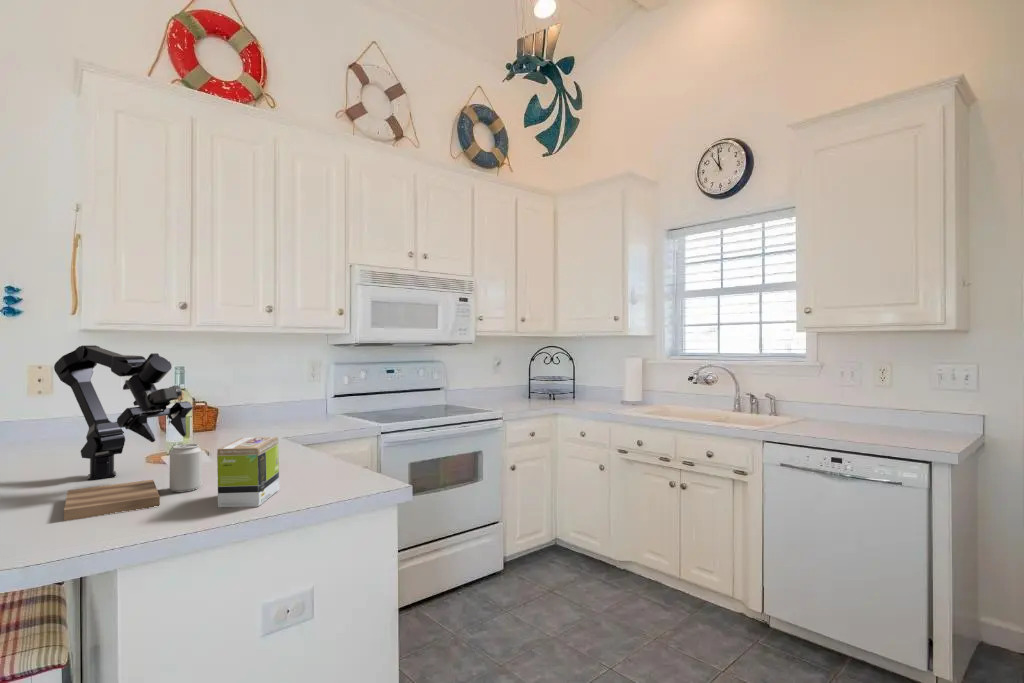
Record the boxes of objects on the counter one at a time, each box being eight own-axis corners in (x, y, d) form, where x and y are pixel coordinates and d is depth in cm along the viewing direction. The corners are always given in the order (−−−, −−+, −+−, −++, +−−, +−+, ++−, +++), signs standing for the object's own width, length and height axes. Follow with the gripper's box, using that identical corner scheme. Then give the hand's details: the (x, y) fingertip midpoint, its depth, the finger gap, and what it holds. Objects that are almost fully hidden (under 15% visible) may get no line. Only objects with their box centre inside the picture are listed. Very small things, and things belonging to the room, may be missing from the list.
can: (186, 493, 143) (186, 448, 143) (162, 492, 145) (162, 447, 145) (207, 486, 151) (208, 443, 151) (184, 484, 152) (184, 442, 152)
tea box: (241, 491, 146) (241, 436, 146) (280, 490, 147) (280, 436, 147) (216, 508, 131) (216, 447, 131) (259, 507, 132) (259, 446, 132)
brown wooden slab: (68, 502, 137) (68, 490, 137) (153, 490, 148) (153, 479, 148) (64, 523, 122) (64, 510, 122) (159, 508, 132) (159, 496, 132)
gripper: (127, 378, 144) (153, 426, 140) (191, 374, 161) (215, 417, 158) (105, 403, 147) (130, 451, 143) (169, 396, 164) (193, 439, 161)
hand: (169, 438), depth 151 cm, fingers open, 9 cm apart
